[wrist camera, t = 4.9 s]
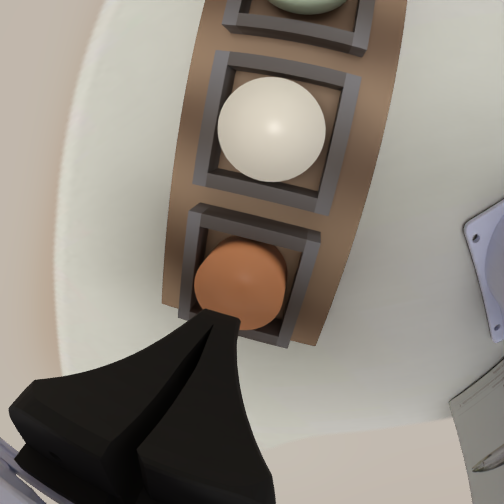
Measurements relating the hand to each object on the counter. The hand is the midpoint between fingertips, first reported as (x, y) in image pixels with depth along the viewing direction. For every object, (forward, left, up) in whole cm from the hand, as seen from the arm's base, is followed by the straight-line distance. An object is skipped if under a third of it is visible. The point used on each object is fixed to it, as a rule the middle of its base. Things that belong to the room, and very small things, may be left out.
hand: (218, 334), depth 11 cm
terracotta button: (0, 0, -5) cm, 5 cm away
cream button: (+5, -5, -5) cm, 9 cm away
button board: (+5, -5, -7) cm, 10 cm away
